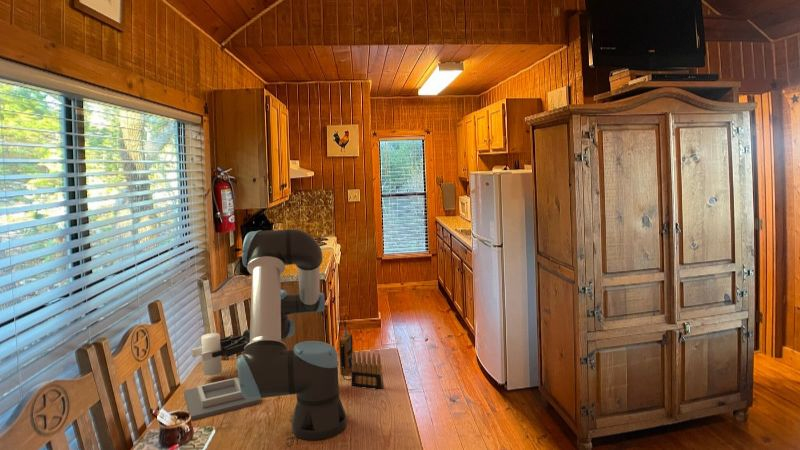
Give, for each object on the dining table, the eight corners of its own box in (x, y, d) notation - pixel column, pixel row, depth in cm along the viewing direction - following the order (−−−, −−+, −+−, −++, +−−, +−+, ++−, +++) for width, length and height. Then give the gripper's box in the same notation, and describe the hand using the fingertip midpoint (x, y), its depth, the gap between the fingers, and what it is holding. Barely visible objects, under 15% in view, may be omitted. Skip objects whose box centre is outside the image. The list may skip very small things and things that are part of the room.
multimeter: (364, 381, 160) (362, 324, 158) (336, 379, 162) (334, 323, 160) (375, 364, 174) (373, 311, 172) (349, 363, 176) (347, 310, 174)
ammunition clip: (383, 387, 155) (382, 352, 154) (381, 390, 153) (380, 354, 152) (353, 383, 158) (352, 349, 157) (351, 386, 156) (350, 351, 155)
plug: (223, 372, 164) (220, 336, 163) (204, 376, 161) (202, 339, 160) (220, 367, 169) (218, 331, 168) (202, 371, 166) (200, 335, 165)
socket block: (260, 402, 147) (259, 392, 146) (190, 420, 137) (189, 410, 137) (246, 379, 164) (246, 370, 164) (184, 393, 154) (183, 384, 154)
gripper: (272, 352, 172) (211, 372, 155) (243, 341, 184) (185, 359, 167) (270, 332, 171) (210, 350, 154) (242, 323, 184) (183, 339, 166)
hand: (197, 355), depth 160 cm, fingers closed on plug, 6 cm apart
